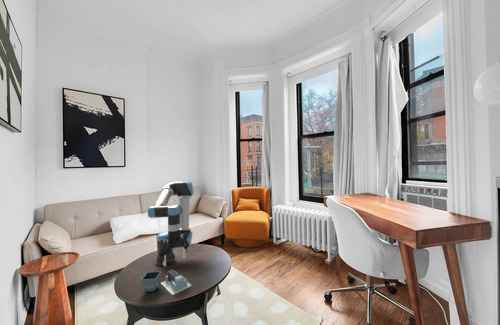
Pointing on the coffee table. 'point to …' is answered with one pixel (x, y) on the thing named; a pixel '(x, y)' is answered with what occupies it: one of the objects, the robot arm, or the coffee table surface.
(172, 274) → the bar
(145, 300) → the coffee table surface
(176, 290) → the board
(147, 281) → the flower pot
